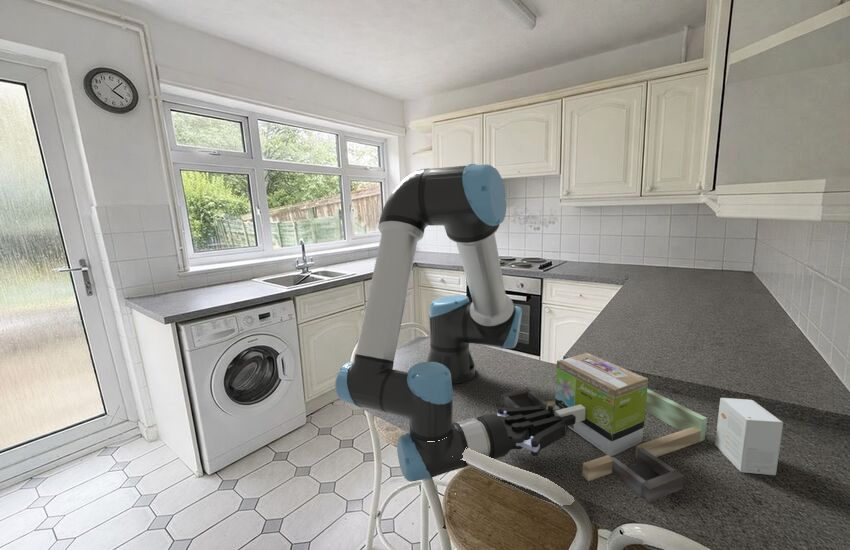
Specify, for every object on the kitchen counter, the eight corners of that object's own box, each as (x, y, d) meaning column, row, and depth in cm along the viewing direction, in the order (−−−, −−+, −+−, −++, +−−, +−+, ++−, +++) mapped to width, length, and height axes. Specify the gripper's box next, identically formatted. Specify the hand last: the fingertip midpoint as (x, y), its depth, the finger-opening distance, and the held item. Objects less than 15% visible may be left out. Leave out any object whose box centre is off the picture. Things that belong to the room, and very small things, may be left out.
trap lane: (500, 403, 89) (500, 385, 88) (596, 380, 99) (597, 364, 98) (621, 513, 56) (623, 486, 55) (746, 462, 66) (749, 438, 65)
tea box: (552, 419, 82) (554, 359, 79) (584, 408, 86) (587, 350, 83) (610, 459, 68) (615, 388, 66) (644, 444, 72) (650, 376, 70)
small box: (776, 476, 63) (785, 422, 61) (739, 473, 64) (747, 420, 62) (745, 447, 70) (753, 398, 68) (713, 444, 71) (719, 396, 70)
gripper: (465, 436, 72) (560, 412, 80) (499, 481, 60) (607, 447, 68) (465, 402, 71) (561, 381, 78) (499, 441, 59) (609, 411, 66)
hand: (582, 412), depth 73 cm, fingers closed
